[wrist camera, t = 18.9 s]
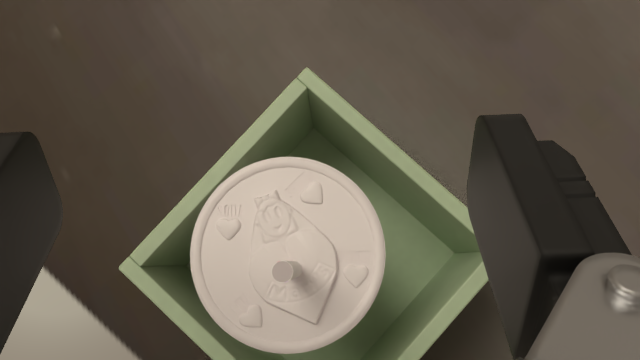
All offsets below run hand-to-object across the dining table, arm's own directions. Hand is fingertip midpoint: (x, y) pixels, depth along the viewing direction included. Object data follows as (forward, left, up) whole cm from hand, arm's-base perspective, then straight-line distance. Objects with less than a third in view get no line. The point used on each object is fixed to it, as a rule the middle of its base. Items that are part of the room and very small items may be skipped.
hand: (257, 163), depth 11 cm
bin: (0, -2, -19) cm, 19 cm away
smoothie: (-1, -1, -18) cm, 18 cm away
